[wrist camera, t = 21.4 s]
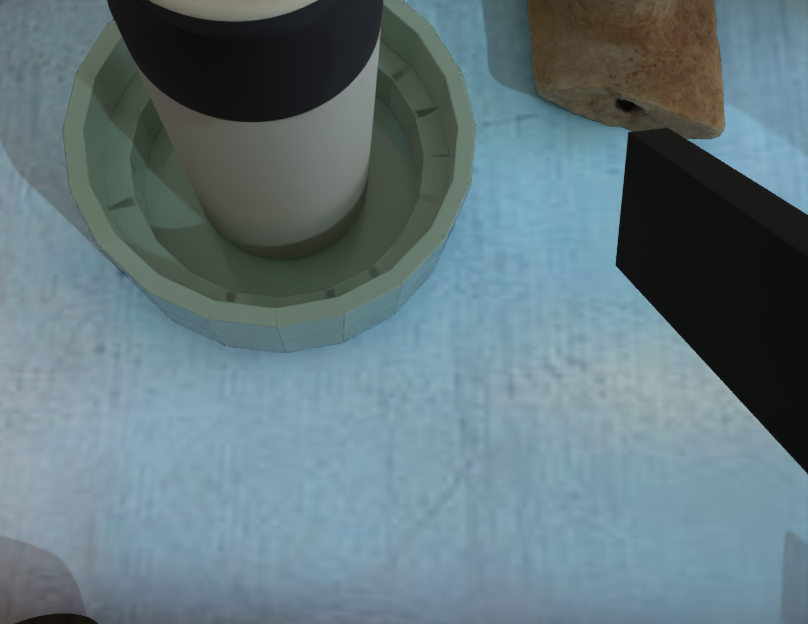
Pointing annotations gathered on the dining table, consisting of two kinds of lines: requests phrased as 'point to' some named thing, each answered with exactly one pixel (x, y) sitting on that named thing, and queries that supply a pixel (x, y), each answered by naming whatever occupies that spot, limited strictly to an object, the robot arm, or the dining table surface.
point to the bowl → (259, 276)
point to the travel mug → (264, 110)
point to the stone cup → (631, 62)
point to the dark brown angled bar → (59, 619)
